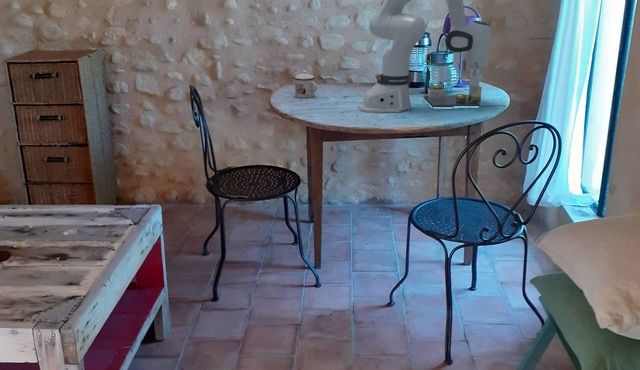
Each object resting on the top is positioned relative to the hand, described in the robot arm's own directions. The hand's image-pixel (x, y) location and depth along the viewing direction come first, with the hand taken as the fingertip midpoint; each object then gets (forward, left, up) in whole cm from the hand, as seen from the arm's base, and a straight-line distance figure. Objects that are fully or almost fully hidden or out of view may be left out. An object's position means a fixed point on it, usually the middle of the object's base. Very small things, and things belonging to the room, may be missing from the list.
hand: (474, 93), depth 276 cm
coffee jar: (-10, +29, -6) cm, 31 cm away
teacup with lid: (-70, +26, -6) cm, 75 cm away
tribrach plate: (-9, +4, -5) cm, 11 cm away
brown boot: (-2, 0, -3) cm, 4 cm away
